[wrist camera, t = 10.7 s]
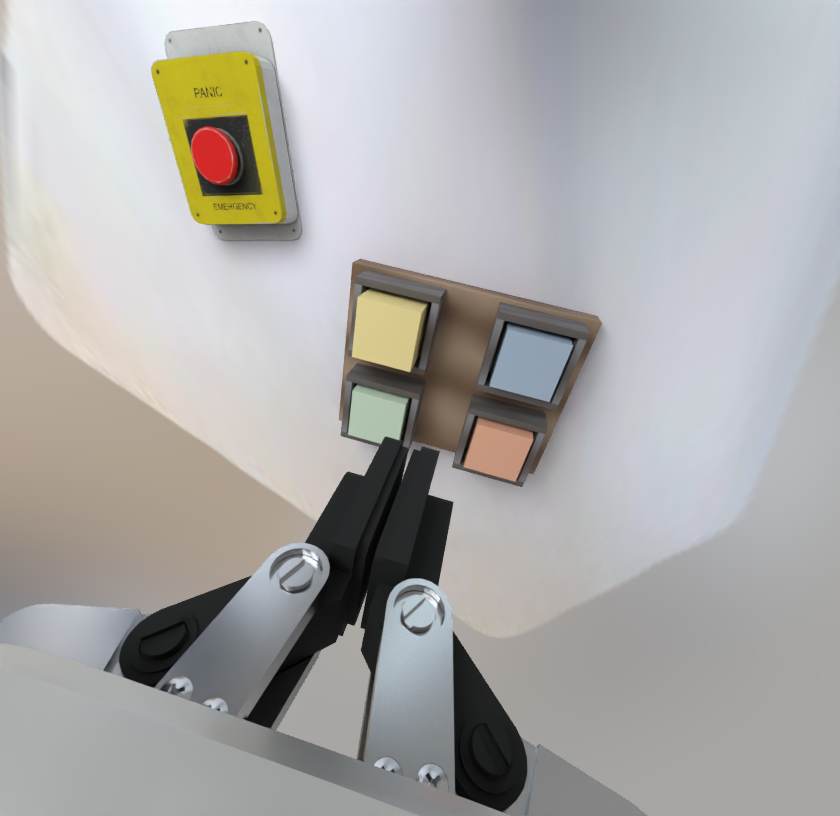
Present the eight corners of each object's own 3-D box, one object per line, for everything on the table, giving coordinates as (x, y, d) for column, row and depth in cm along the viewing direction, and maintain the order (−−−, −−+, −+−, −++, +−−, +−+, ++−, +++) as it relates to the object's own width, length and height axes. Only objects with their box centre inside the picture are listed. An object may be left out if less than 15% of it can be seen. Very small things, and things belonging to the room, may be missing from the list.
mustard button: (371, 287, 33) (357, 297, 30) (429, 301, 32) (421, 312, 30) (364, 343, 36) (351, 356, 33) (418, 357, 35) (410, 372, 32)
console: (360, 259, 35) (339, 268, 31) (597, 316, 34) (609, 334, 29) (345, 411, 44) (327, 434, 40) (532, 462, 43) (534, 493, 38)
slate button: (508, 317, 33) (507, 329, 30) (567, 331, 33) (573, 345, 30) (491, 370, 36) (489, 386, 33) (546, 384, 35) (549, 402, 32)
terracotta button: (479, 406, 38) (477, 424, 35) (531, 420, 37) (533, 439, 34) (466, 447, 40) (463, 467, 38) (515, 460, 40) (515, 481, 37)
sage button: (364, 375, 39) (352, 390, 36) (413, 388, 38) (405, 404, 35) (359, 417, 41) (348, 434, 39) (405, 430, 41) (397, 448, 38)
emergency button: (187, 244, 34) (118, 13, 27) (219, 239, 38) (166, 35, 30) (282, 245, 32) (236, -3, 25) (306, 239, 36) (272, 22, 29)
